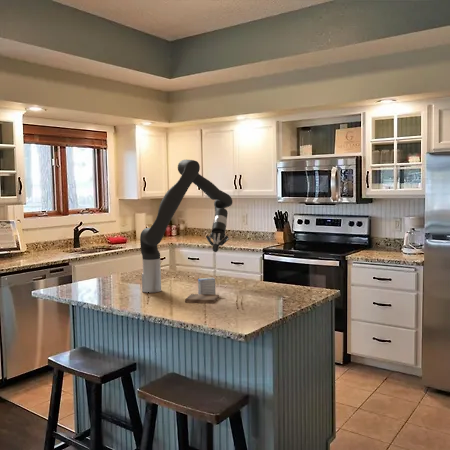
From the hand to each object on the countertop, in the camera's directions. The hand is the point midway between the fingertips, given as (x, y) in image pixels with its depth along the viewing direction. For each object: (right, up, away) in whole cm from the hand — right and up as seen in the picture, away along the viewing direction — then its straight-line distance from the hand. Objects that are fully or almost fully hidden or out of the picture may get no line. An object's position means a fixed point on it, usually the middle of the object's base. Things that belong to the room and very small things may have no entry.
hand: (215, 251), depth 264 cm
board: (-6, -22, -27) cm, 35 cm away
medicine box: (-4, -21, -17) cm, 28 cm away
